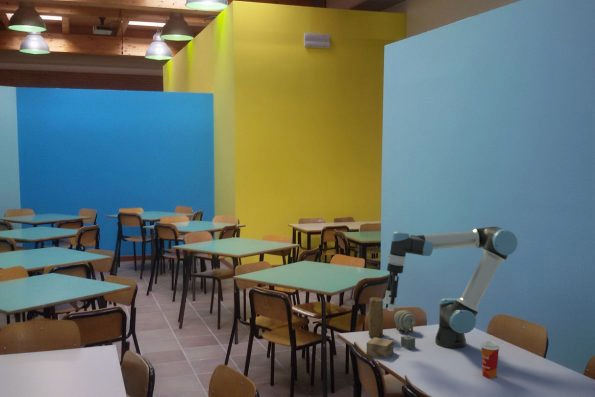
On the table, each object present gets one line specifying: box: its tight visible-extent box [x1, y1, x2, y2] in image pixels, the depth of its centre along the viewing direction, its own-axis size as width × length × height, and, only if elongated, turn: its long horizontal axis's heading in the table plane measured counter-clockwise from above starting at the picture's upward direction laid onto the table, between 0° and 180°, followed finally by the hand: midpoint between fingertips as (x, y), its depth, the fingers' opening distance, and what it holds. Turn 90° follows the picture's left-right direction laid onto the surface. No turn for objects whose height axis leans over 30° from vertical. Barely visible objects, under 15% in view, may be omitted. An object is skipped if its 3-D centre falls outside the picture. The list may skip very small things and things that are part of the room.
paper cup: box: [480, 341, 500, 379], centre depth 242 cm, size 8×8×14 cm
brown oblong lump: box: [368, 296, 384, 338], centre depth 298 cm, size 11×8×20 cm
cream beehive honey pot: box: [393, 310, 416, 334], centre depth 307 cm, size 11×17×11 cm, turn 32°
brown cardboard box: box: [366, 337, 394, 359], centre depth 270 cm, size 10×10×6 cm
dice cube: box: [400, 334, 416, 350], centre depth 280 cm, size 5×5×5 cm
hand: (388, 307), depth 271 cm, fingers open, 13 cm apart
